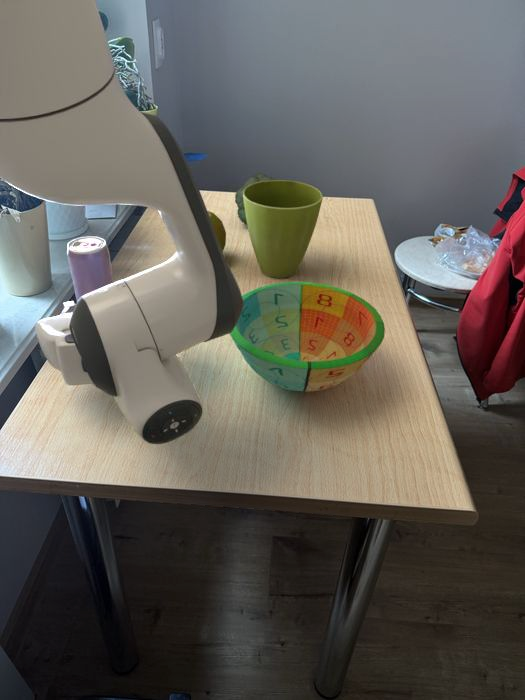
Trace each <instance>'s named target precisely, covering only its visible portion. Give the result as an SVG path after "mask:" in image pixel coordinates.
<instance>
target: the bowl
mask: <svg viewBox="0 0 525 700" xmlns="http://www.w3.org/2000/svg"><path fill="white" fill-rule="evenodd" d="M242 299H243V309H242V312H241V315H240V317H239V320H238V322H237V324H236V326H235V328H234V329H233V331H232V332H231V333H229V334H228V335H229V336H230V337H231V339H232V340H233V342H234V344H235V346H236V348H237V350H239V352H240V354H241V355H242V357H243V359H244V360H245V362H246V363H247V364H248V365H249V366H250V368H251V369H252V370H253V371H254V372H255V373H256V374H257V375H259V376H260V377H261V378H263V379H264V380H265V381H266V382H269V383H271V384H272V385H274V386H277V387H279V388H282V389H286V390H288V391H289V390H290V391H294V392H317V391H323V390H326V389H331V388H332V387H335V386H337V385H339V384H341V383H342V382H344V381H346V380H348V379H349V378H351V377H352V376H353V375H354V374H356V372H358V371H359V370H360V369H361V368H362V366H363V365H364V363H366V361H368V360H369V359H370V358H371V356H372V355H373V354H374V353H375V352H376V351H377V350H378V348H379V347H380V346H381V345H382V343H383V340H384V338H385V333H386V328H385V322H384V320H383V318H382V315H381V314H380V313H379V312H378V310H377V309H376V308H375V307H374V306H373V305H372V304H371V303H369V302H368V301H367V300H365V299H364V298H362V297H360V296H358V295H356V294H354V293H352V292H351V291H348V290H345V289H343V288H340V287H336V286H333V285H329V284H324V283H317V282H310V281H309V282H307V281H286V282H277V283H271V284H266V285H262V286H259V287H257V288H253V289H251V290H250V291H247V292H246V293H244V294H242Z"/></svg>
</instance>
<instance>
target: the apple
mask: <svg viewBox="0 0 525 700" xmlns="http://www.w3.org/2000/svg"><path fill="white" fill-rule="evenodd" d="M207 212H208V214H209V217H210V220H211V222H212V225H213V228H214V230H215V233H216V236H217V238H218V241H219V244H220V246H221V249H222V252H224V249H225V247H226V245H227V243H226V242H227V230H226V229H225V225H224V224H223V223H224V222H223V221H222V220H221V218H219V217H218V215H216V214H215V212H212V211H210V210H207Z"/></svg>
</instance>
